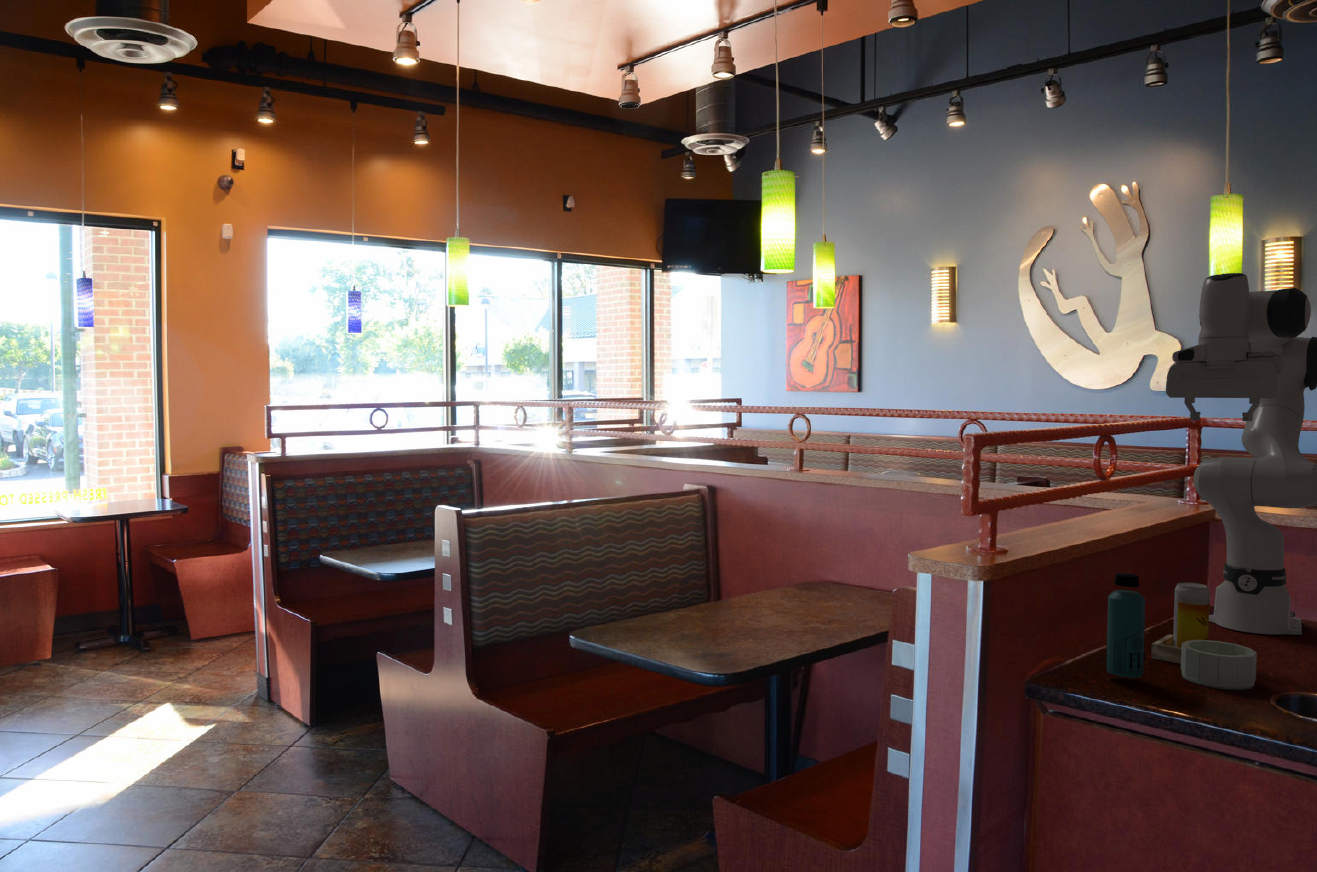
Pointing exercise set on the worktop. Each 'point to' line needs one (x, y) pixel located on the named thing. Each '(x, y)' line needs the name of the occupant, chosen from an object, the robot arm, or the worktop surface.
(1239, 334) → the robot arm
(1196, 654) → the cup
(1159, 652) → the square beige tray
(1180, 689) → the worktop surface
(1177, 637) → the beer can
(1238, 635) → the worktop surface
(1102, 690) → the worktop surface
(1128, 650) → the beverage bottle
